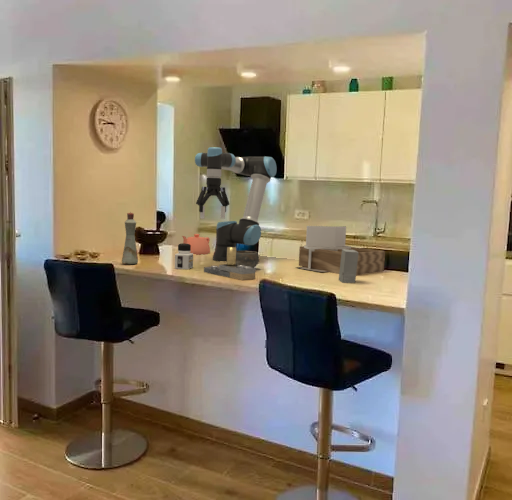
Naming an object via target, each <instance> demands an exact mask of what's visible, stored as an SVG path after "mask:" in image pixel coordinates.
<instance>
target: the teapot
mask: <svg viewBox="0 0 512 500" xmlns="http://www.w3.org/2000/svg"><path fill="white" fill-rule="evenodd" d="M181 237H182V239H183V242H182V243H186V244H190V245H191V252H190V253H193V254H196V256H200V255H201V254H203V255H208V253H209V254H211V248H210V240H211V239H210V237H206V236H204V237H203V236H200V234H199V233H194V234H193V236H188V237H187V236H185V235H181Z"/></svg>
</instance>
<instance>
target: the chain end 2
mask: <svg viewBox="0 0 512 500" xmlns="http://www.w3.org/2000/svg"><path fill="white" fill-rule="evenodd" d="M218 267H219V270H223V271H228V272H230V279H234V280H239V281H245V280H247V281H248V280H255V279H256V267H255V268H252V267H250V266H245V265H236V266H227V263H225V264H219V265H218Z"/></svg>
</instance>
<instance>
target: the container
mask: <svg viewBox="0 0 512 500" xmlns="http://www.w3.org/2000/svg"><path fill="white" fill-rule="evenodd" d="M190 252H191V245H190V244H186V243H183V242H182V243H178V245H177V253H175V254H174V269H175V270H176V269H177V270H178V269H179V270H190V268H191V269H192V268H194V255H193V253H190Z"/></svg>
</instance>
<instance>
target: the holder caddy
mask: <svg viewBox="0 0 512 500" xmlns="http://www.w3.org/2000/svg"><path fill="white" fill-rule="evenodd" d="M304 246H305V245H304ZM304 246H303V245H302V246H299V252H298V253H299V254H298V267H305V268H308V259H309V249H306V248H304ZM349 250H355V251H357V252H358V262H357V270H356V276H361V275H365V274H372V273H373V274H374V273H379V272H384V271H385V258H386V251H385V250H379V249H372V248H371V249H369V248H364V247H355V246H351V249H349ZM341 254H342V249H338V251H331V250H324V249H315V251H311V269H317V270H323V271H327V272H326V273H330V274H336V275H339V272H340V263H341Z"/></svg>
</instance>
